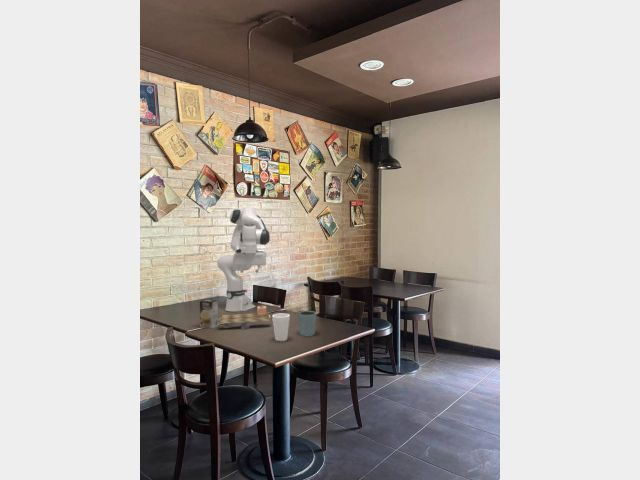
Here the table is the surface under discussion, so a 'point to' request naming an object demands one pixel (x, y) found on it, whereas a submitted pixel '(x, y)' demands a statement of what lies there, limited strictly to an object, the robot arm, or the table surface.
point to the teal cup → (307, 323)
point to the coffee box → (208, 313)
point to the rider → (261, 310)
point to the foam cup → (281, 326)
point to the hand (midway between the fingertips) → (249, 272)
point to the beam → (242, 319)
